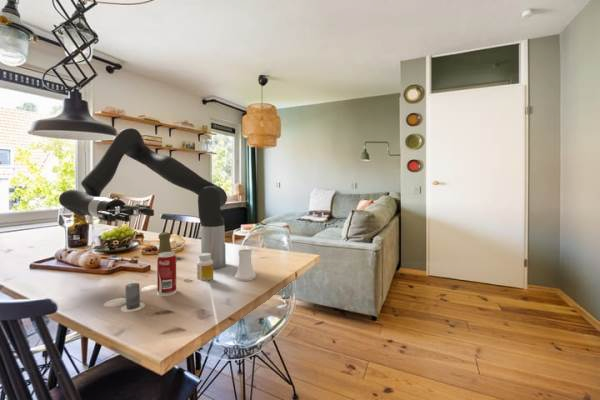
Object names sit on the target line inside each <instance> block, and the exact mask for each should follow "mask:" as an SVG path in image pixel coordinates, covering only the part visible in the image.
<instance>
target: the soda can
mask: <svg viewBox="0 0 600 400" xmlns="http://www.w3.org/2000/svg"><path fill="white" fill-rule="evenodd" d="M158 255H159V256H158ZM156 261H157V262H156V263H157V264H156V265H157V266H156V270H157V272H156V273H157V276H156V278H157V283H156V285H158V290H157V293H159V294H160V295H168V294H172V293H174V292H175V291H176V290H177V255H176V252H174V251H172V252H162V253H159V254H157V258H156ZM174 294H175V293H174ZM172 295H173V294H172ZM168 296H169V295H168Z"/></svg>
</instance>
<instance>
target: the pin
mask: <svg viewBox="0 0 600 400" xmlns="http://www.w3.org/2000/svg"><path fill="white" fill-rule="evenodd" d="M140 293H141V289H140V283H138V282H133V283H129V284H126V285H125V298H126V303H125V305H126V309H128V310H131V309H136V308H138V307H140V302H141V299H140V298H141V296H140V295H141V294H140Z"/></svg>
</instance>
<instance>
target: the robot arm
mask: <svg viewBox="0 0 600 400" xmlns="http://www.w3.org/2000/svg"><path fill="white" fill-rule="evenodd" d="M124 156H127V157H129V158H130V159H133V160H135V161H136V162H139V163H140V164H142V165H144V166H146V167H147V168H148V169H150V170H151V171H152V172H154V173H156V174H157V175H159V176H160V177H161V178H163V179H164V180H166V181H167V182H169V183H170V184H173V185H175V186H177V187H179V188H182V189H185V190H187V191H190V192H192V193H194V194H196V195H197V207H198V209H197V210H198V219H199V221H200V231H201V232H200V238H201V239H200V243H201V245H200V246H201V247H200V248H201V249H200V250H201V254H202V253H210V254H211V258H210V259H211V260H213V270H217V269H221V268H225V267H226V266H227V264H226V263H227V262H226V243H225V242H226V241H225V235H226V234H225V233H226V232H225V218H224V217H223V216H222V213H221V212H222V211H221V207H223V206H224V205H226V203H227V201H228V196H227V193H226V191H225V190H224V189H223V188H222V187H220V186H218V185H217V184H215V183H214V182H213V183H212V182H211V181H209V180H207V179H205V178H204V177H202V176H200V175H199V174H197V173H196V172H195V171H193V170H192V169H190V168H189V166H188V167H187V166H186V165H185V164H183V163H182V162H180V161H179V160H177V159H176V158H174V157H172V156H169V155H165V154H160V153H157V152H155V151H154V150H153V149H151V148H150V147H149V146H148V145H146V143H145V141H144V138H143V136H142V134H141V133H140V131H139V130H138V129H136V128H133V127H127V128H124V129H122V130H120V131H119V132H118V133H117V134H116V136H115V137H114V139H112V142H111V144H110V145H109V147H108V149H107V150H106V151H105V152H104V155H102V156H101V159H100V160H99V162H98V163H97V164H96V165H95V166H94V168H92V169H91V171H90V172H89V173H88V174H86V176H85V177H84V178H83V180H82V181H81V186H82V187H83V189H84V190H85V191H83V190H80V189H75V188H72V189H71V188H70V189H67V190H65V191H63V192H62V193H61V194H60V195H59V197H58V202H59V204H60V205H61V207H63V208H65V209H67V210H68V211H69V212H71V213H73V214H74V215H76V216H78V217H85V216H90V217H94V218H97V219H98V220H101V221H103V222H104V221H105V222H107V223H108V222H109V223H112V222H119V221H121V222H125V223H127V222H128V223H129V222H130V221H131V217H139V216H148V217H154V215H155V210H154V209H152V208H151V206H150V205H146V204H139V203H137V204H135V205H130V204H126V202H125V201H123V200H122V199H117V198H113V197H106V196H101V194H102V192H103V190H104V189H105V188H106V187H107V186H108V185H109V184H110V182H111V181H112V180H113V178H114V176H115V175H116V173H117V170H118V168H119V165H120V162H121V161H122V159H123V157H124Z"/></svg>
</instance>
